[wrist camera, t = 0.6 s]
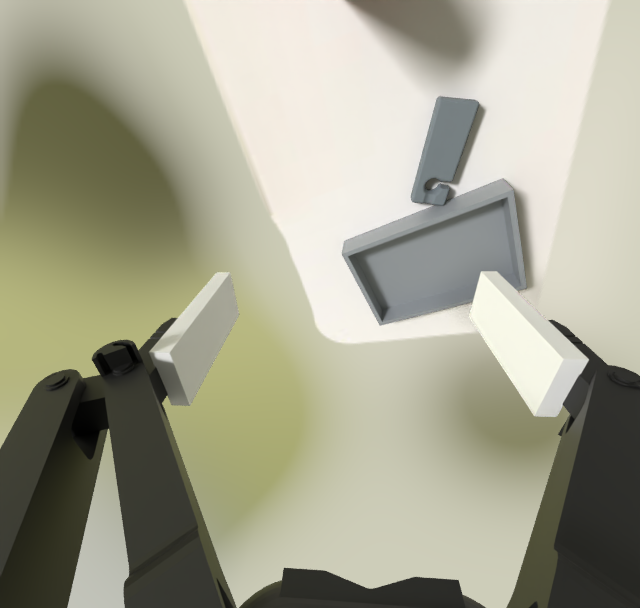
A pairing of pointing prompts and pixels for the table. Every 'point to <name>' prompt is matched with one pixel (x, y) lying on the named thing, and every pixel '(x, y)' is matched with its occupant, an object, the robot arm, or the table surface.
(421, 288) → the tray
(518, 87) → the table surface
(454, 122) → the bracket
